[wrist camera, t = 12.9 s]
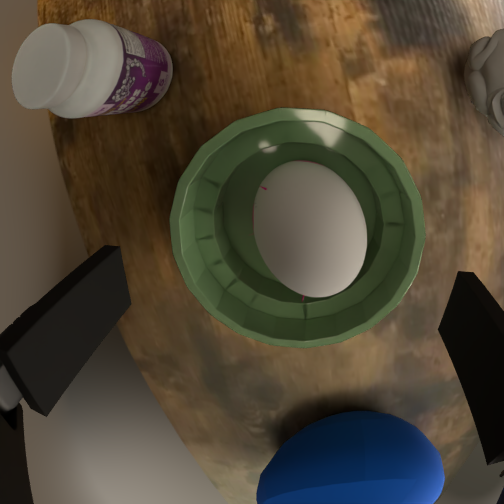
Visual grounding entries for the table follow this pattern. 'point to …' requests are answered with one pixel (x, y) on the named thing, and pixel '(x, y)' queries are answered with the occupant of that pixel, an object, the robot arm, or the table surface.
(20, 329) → the robot arm
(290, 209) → the stress ball
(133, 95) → the pill bottle
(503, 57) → the frog figurine
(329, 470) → the vase
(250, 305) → the green bowl
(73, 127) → the table surface
